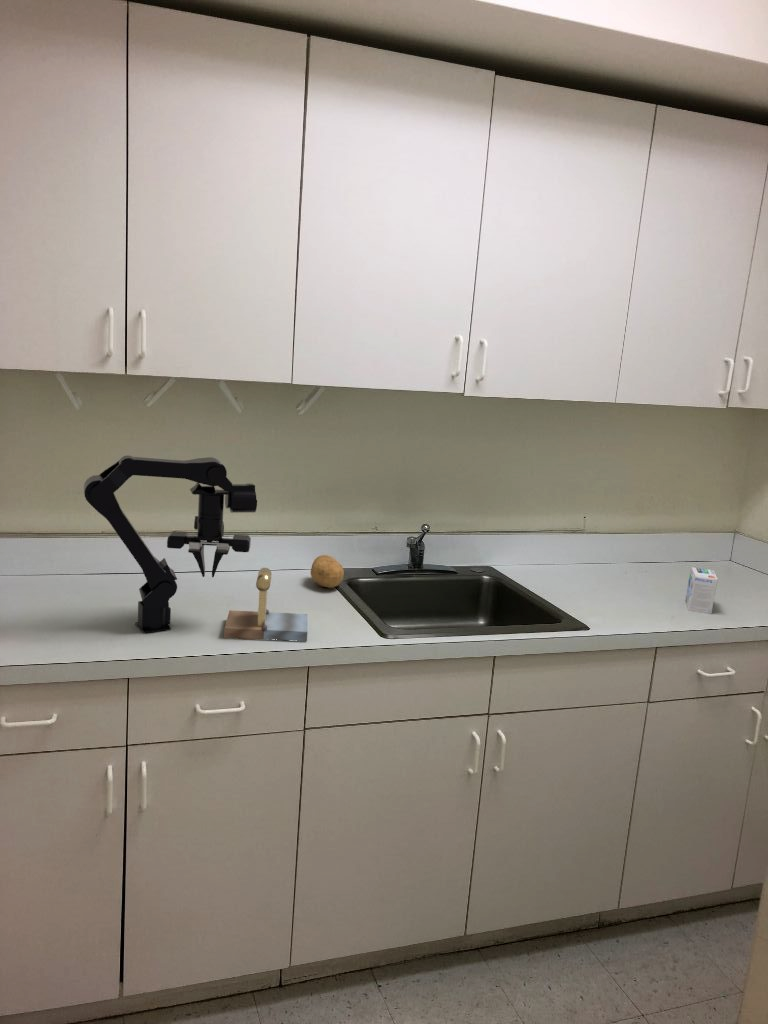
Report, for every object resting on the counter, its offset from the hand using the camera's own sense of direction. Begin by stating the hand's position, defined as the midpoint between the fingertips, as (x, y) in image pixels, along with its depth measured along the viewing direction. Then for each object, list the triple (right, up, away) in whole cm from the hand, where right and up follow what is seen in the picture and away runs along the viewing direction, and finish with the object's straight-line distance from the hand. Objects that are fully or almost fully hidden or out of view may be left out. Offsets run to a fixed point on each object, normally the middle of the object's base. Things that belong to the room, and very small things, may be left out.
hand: (208, 576), depth 191 cm
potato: (+25, -6, +39) cm, 47 cm away
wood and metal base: (+13, -13, +2) cm, 19 cm away
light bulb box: (+135, -13, +50) cm, 145 cm away
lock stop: (+13, -11, +1) cm, 17 cm away
